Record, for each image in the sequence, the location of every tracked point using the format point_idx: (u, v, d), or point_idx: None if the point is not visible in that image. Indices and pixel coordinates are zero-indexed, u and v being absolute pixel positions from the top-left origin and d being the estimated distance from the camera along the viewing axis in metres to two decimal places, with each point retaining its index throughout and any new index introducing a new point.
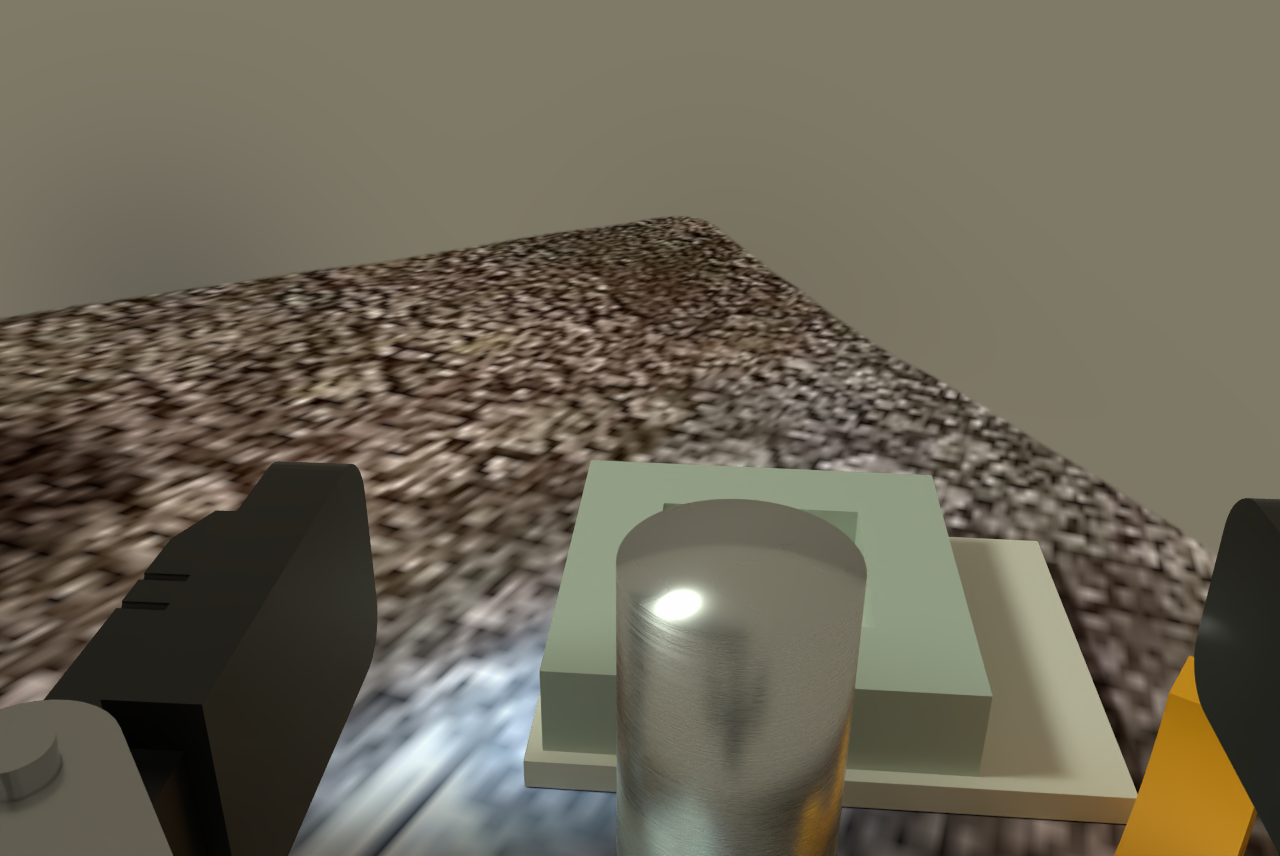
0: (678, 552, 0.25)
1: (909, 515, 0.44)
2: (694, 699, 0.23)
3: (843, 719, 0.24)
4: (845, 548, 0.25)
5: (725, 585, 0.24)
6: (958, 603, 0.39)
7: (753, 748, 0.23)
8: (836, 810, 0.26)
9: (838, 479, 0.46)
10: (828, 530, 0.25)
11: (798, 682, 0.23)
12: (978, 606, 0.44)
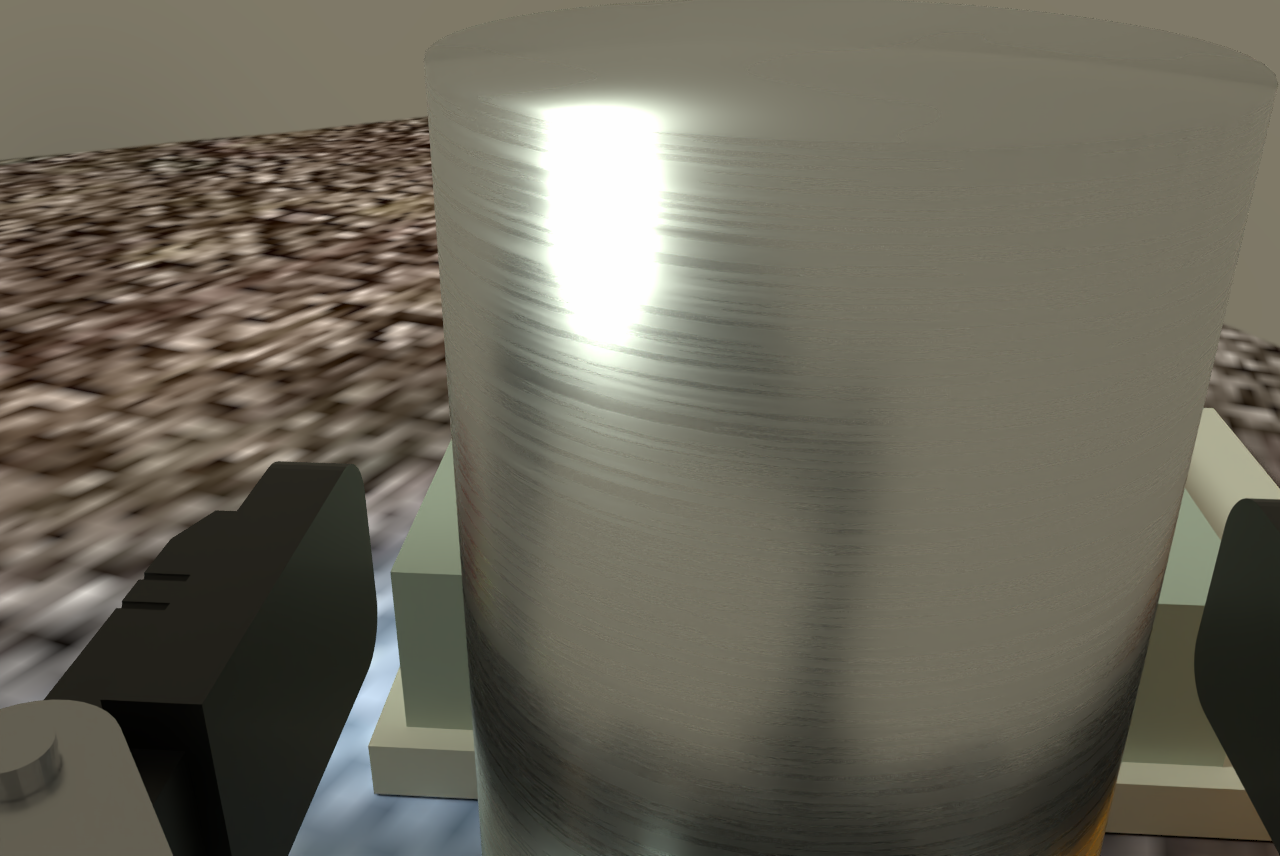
0: (633, 40, 0.08)
1: None
2: (689, 449, 0.06)
3: (1165, 559, 0.08)
4: (1150, 36, 0.08)
5: (792, 72, 0.07)
6: None
7: (898, 639, 0.06)
8: None
9: None
10: (1075, 21, 0.09)
11: (1080, 375, 0.06)
12: None
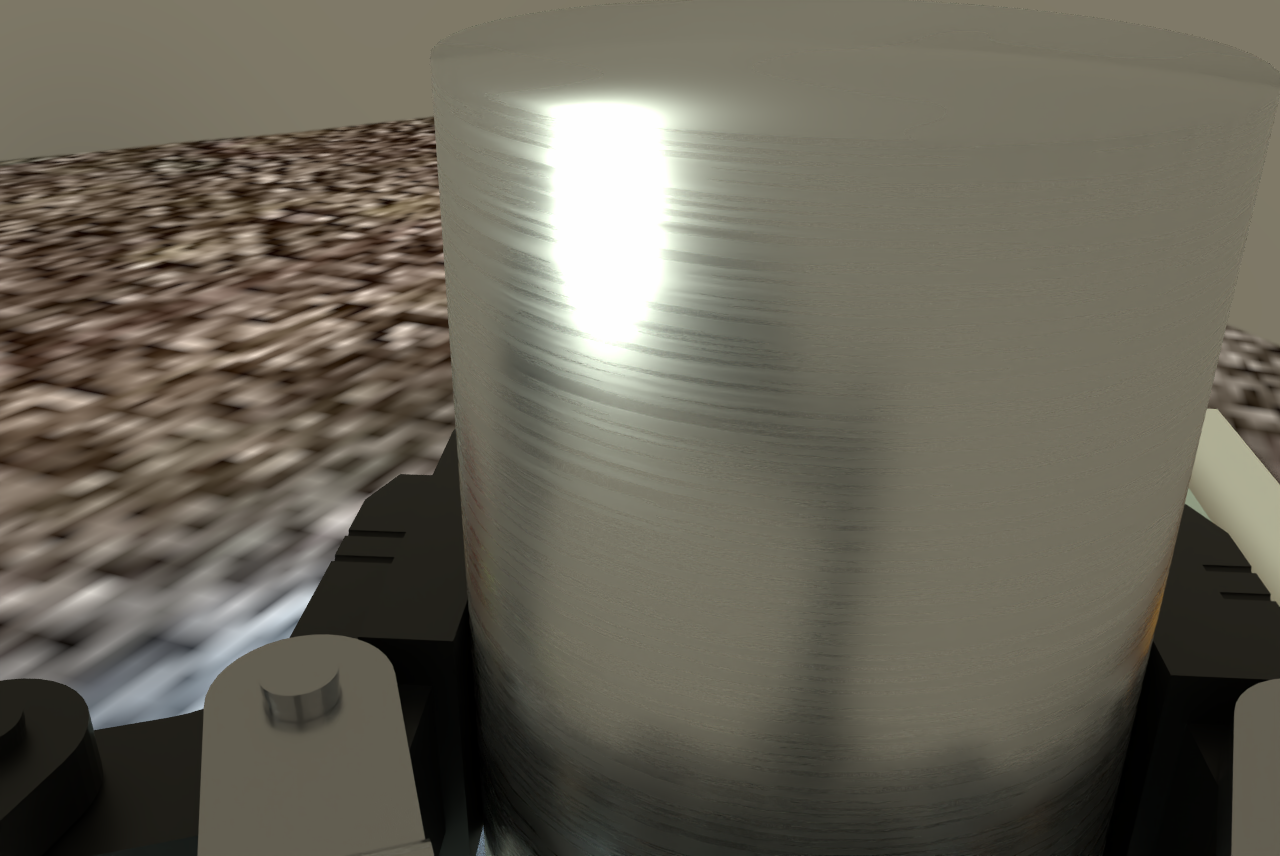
0: (640, 39, 0.08)
1: None
2: (693, 445, 0.06)
3: (1170, 557, 0.08)
4: (1156, 35, 0.08)
5: (797, 69, 0.07)
6: None
7: (904, 637, 0.06)
8: (1104, 846, 0.09)
9: None
10: (1079, 20, 0.09)
11: (1084, 373, 0.06)
12: None
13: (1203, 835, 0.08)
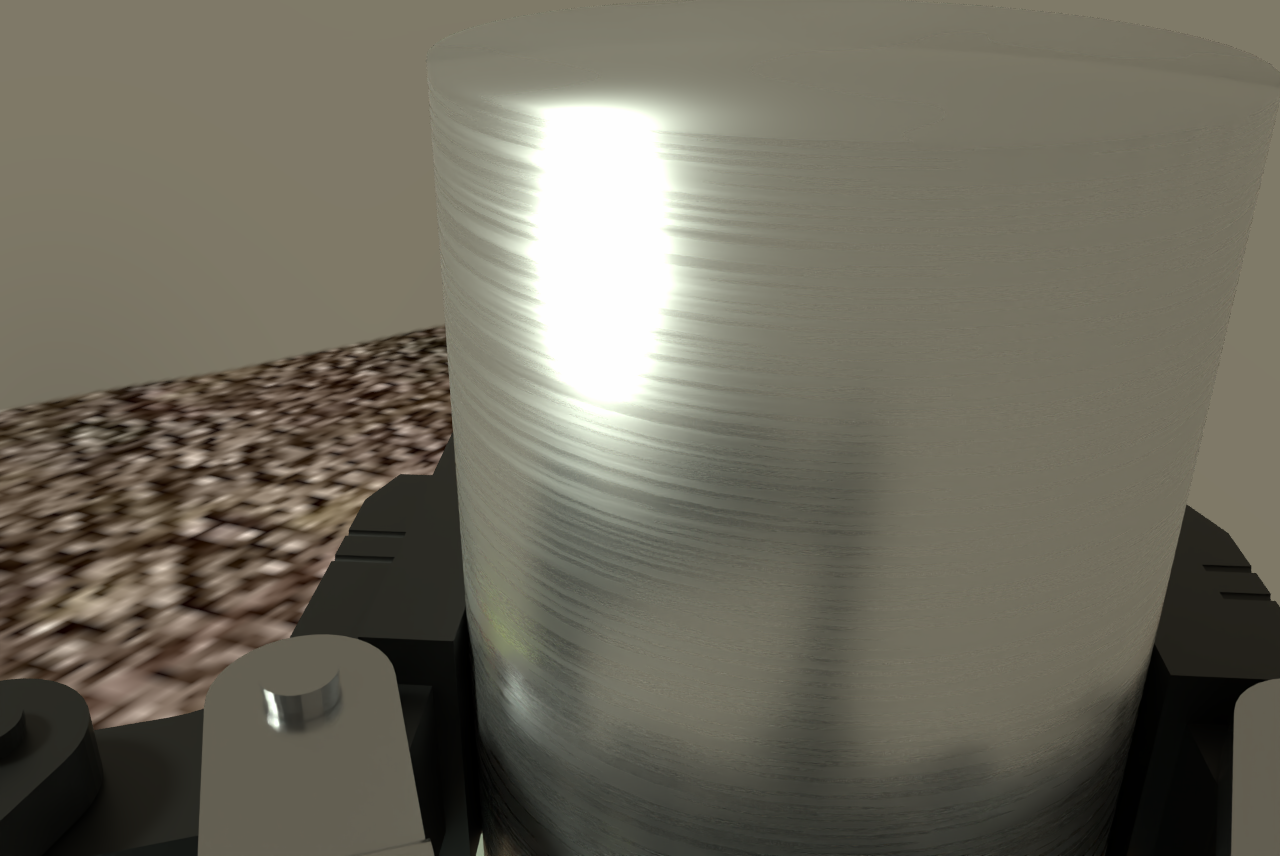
0: (636, 39, 0.08)
1: None
2: (691, 451, 0.06)
3: (1171, 560, 0.08)
4: (1155, 35, 0.08)
5: (796, 72, 0.07)
6: None
7: (903, 642, 0.06)
8: (1105, 850, 0.09)
9: None
10: (1080, 20, 0.09)
11: (1087, 377, 0.06)
12: None
13: (1203, 835, 0.08)
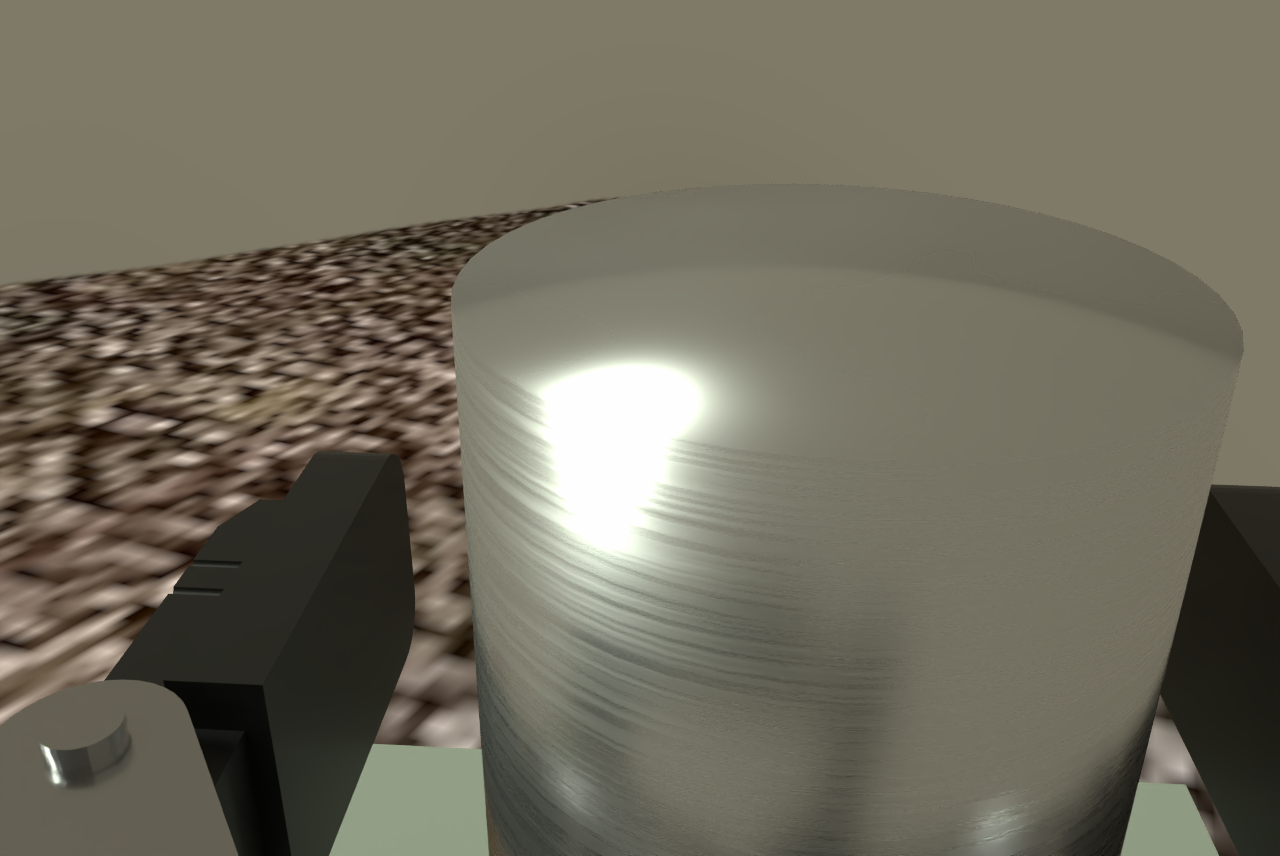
0: (647, 268, 0.08)
1: None
2: (698, 701, 0.07)
3: (1142, 759, 0.08)
4: (1131, 260, 0.09)
5: (794, 331, 0.07)
6: None
7: None
8: None
9: None
10: (1060, 229, 0.09)
11: (1058, 639, 0.07)
12: None
13: None
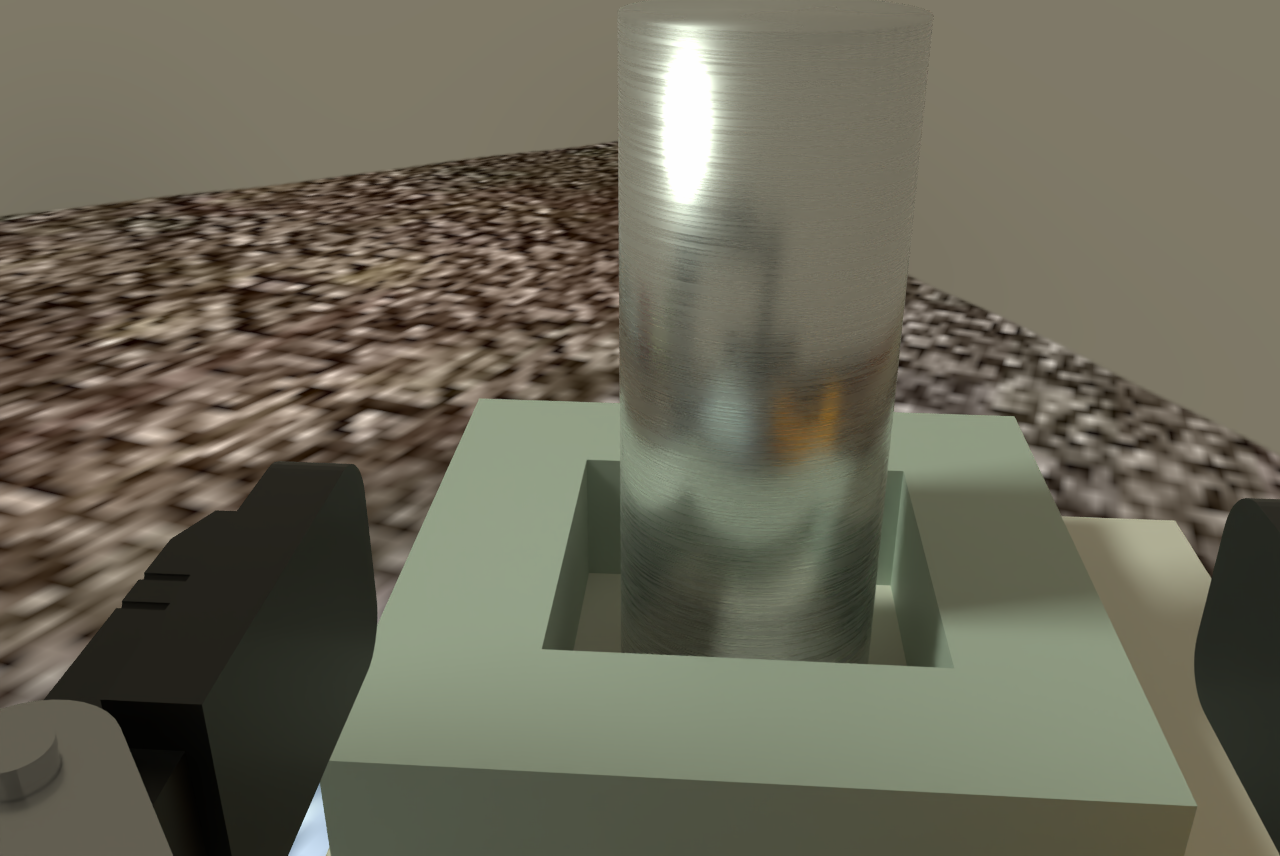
0: (696, 8, 0.20)
1: (988, 475, 0.27)
2: (717, 142, 0.18)
3: (904, 209, 0.19)
4: (904, 7, 0.20)
5: (756, 17, 0.19)
6: (1095, 621, 0.22)
7: (792, 215, 0.18)
8: (893, 356, 0.21)
9: None
10: (880, 3, 0.21)
11: (850, 114, 0.18)
12: None
13: None
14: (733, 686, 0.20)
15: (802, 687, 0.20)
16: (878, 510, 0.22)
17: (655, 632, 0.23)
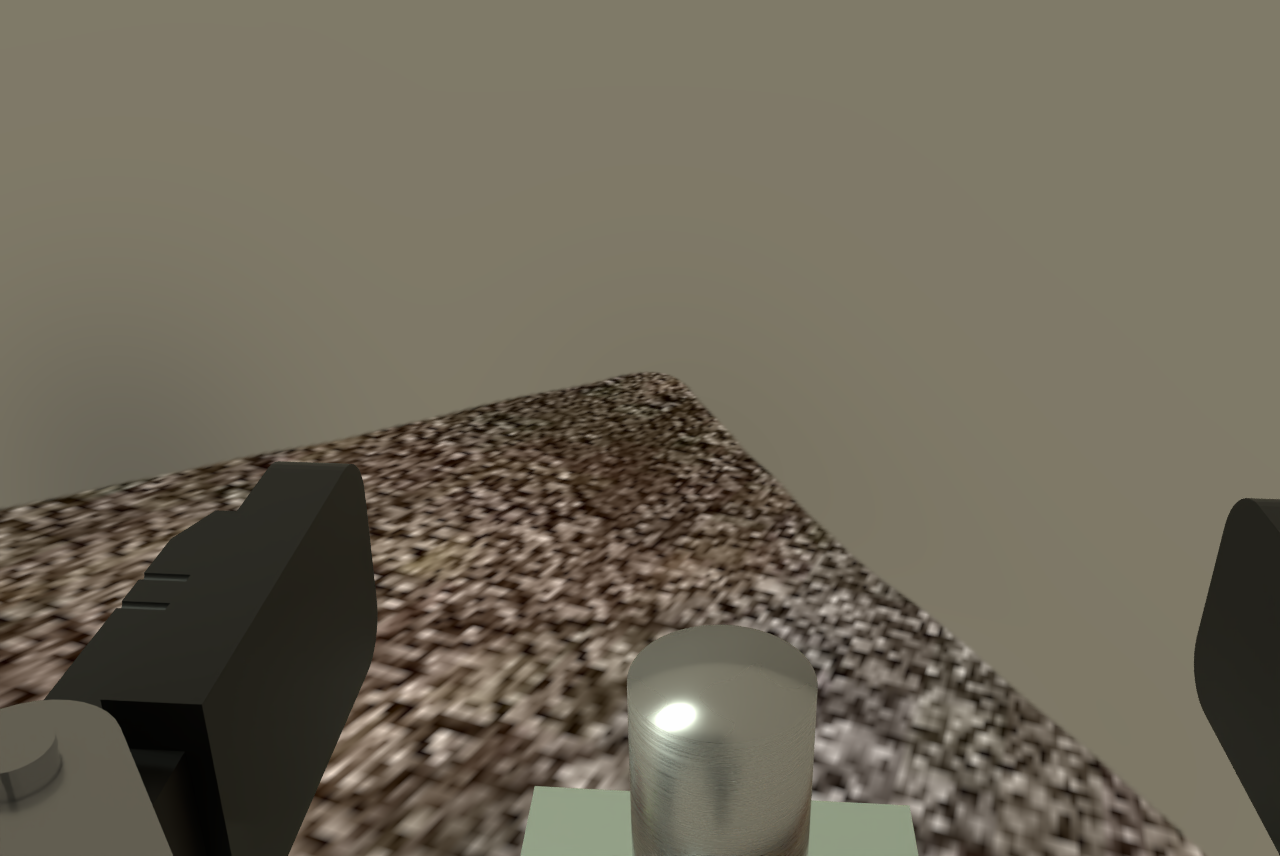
0: (675, 672, 0.32)
1: None
2: (685, 787, 0.31)
3: (802, 800, 0.32)
4: (803, 667, 0.32)
5: (709, 699, 0.31)
6: None
7: (730, 824, 0.31)
8: None
9: None
10: (791, 651, 0.33)
11: (763, 775, 0.30)
12: None
13: None
14: None
15: None
16: None
17: None
